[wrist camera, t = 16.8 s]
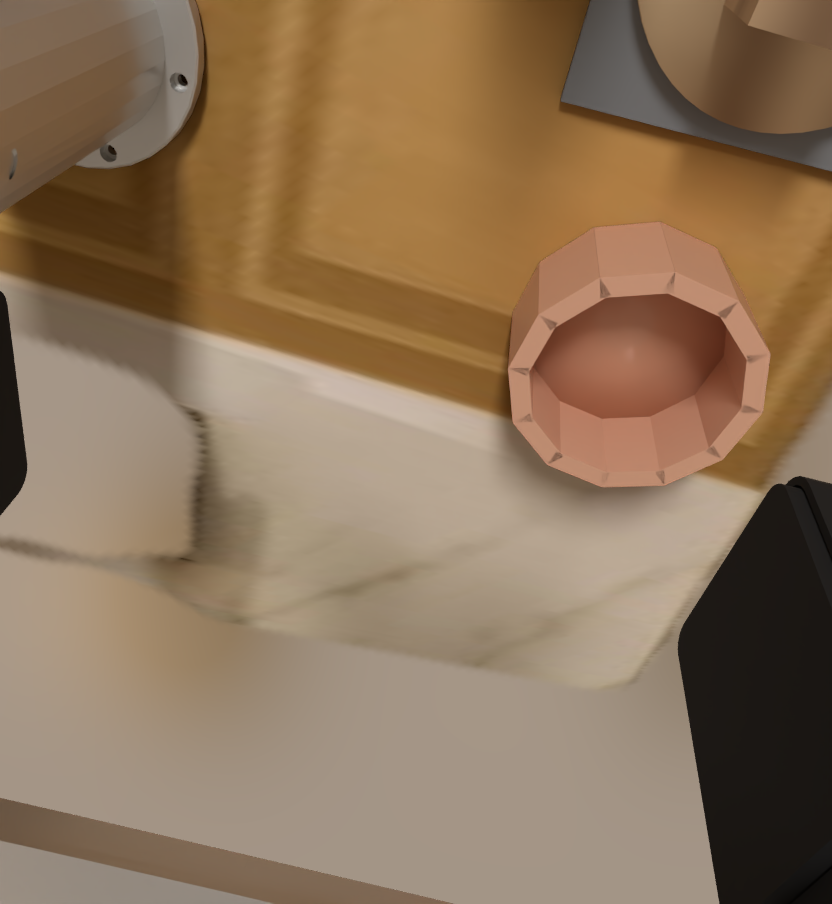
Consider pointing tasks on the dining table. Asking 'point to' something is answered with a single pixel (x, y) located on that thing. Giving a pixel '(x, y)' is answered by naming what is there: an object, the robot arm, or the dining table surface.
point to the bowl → (635, 357)
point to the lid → (747, 59)
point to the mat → (661, 89)
